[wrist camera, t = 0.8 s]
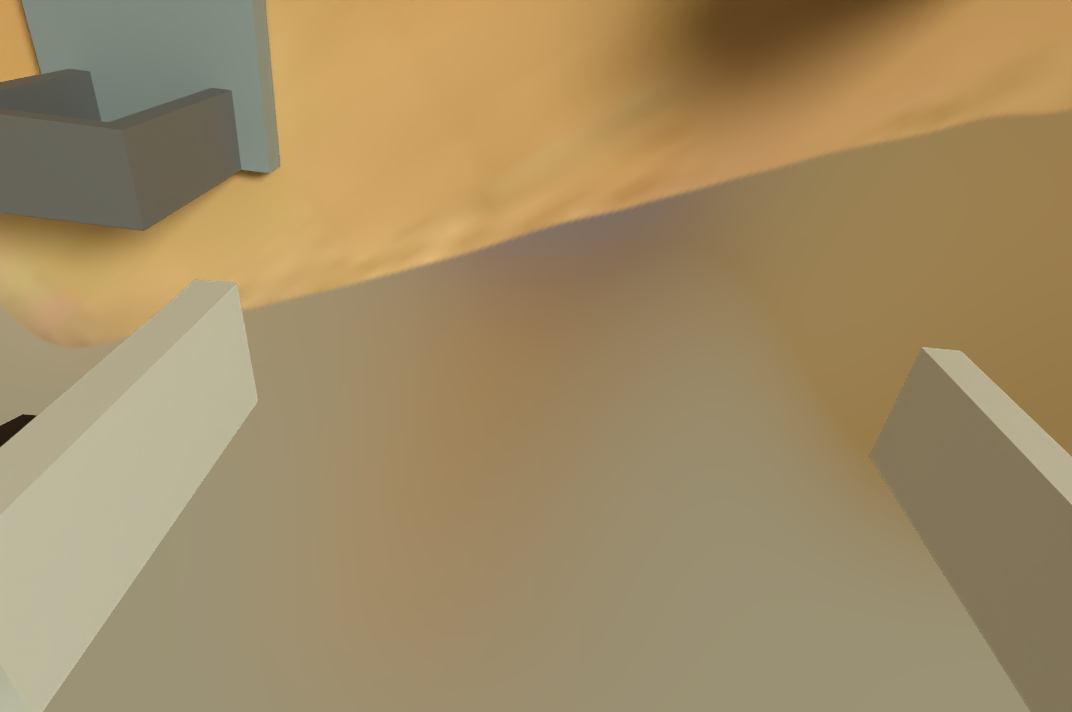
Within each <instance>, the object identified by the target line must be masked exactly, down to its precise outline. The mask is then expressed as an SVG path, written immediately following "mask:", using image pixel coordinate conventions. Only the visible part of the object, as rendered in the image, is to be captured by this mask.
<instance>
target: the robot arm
mask: <svg viewBox="0 0 1072 712" xmlns="http://www.w3.org/2000/svg"><path fill="white" fill-rule="evenodd" d="M257 402H258V397H257V392H256V386H255V381H254V375H253V370H252V364H251V358H250V353H249V347H248V342H247V337H246V331H245V325H244V320H243V314H242V309H241V303H240V297H239V292H238V286H237V283H231V282H220V281H209V280H199V279H196V280H195V281H193V282H192V283H191V284H190V285H189V286H188V287H186V288H185V289H184V290H183V291H182V292H181V293H179V294H178V295H177V296H176V297H175V298H174V299H172V300H171V301H170V302H169V303H168V304H167V305H165V306H164V307H163V308H162V309H161V310H160V311H159V312H157V313H156V314H155V315H154V316H153V317H152V318H150V319H149V320H148V321H147V322H146V323H145V324H143V325H142V326H141V327H140V328H139V329H138V330H136V331H135V332H134V333H133V334H132V335H131V336H129V337H128V338H127V339H126V340H125V341H124V342H122V343H121V344H120V345H119V346H118V347H117V348H115V349H114V350H113V351H112V352H111V353H110V354H108V355H107V356H106V357H105V358H104V359H103V360H102V361H100V362H99V363H98V364H97V365H96V366H95V367H93V368H92V369H91V370H90V371H89V372H88V373H86V374H85V375H84V376H83V377H82V378H81V379H79V380H78V381H77V382H76V383H75V384H74V385H72V386H71V387H70V388H69V389H68V390H67V391H65V393H63V394H62V395H61V396H60V397H59V398H57V399H56V400H55V401H54V402H53V403H51V404H50V405H49V406H48V407H47V408H46V409H45V410H43V411H42V412H41V413H40V414H39V415H37V416H35V415H24V414H23V415H21V416H19V417H17V418H15V419H13V420H11V421H9V422H7V423H5V424H3V425H1V426H0V712H43V710H44V709H45V707H46V706H47V705H48V703H49V702H50V700H51V699H52V697H53V696H54V694H55V693H56V692H57V690H58V689H59V687H60V686H61V684H62V683H63V681H64V680H65V679H66V677H67V676H68V674H69V673H70V671H71V670H72V669H73V667H74V666H75V664H76V663H77V661H78V660H79V659H80V657H81V656H82V654H83V653H84V651H85V650H86V648H87V647H88V646H89V644H90V643H91V641H92V640H93V638H94V637H95V635H96V634H97V633H98V631H99V630H100V628H101V627H102V625H103V624H104V622H105V621H106V620H107V618H108V617H109V615H110V614H111V612H112V611H113V610H114V608H115V607H116V605H117V603H118V602H119V601H120V599H121V598H122V596H123V595H124V594H125V592H126V591H127V589H128V588H129V586H130V585H131V583H132V582H133V581H134V579H135V578H136V576H137V575H138V574H139V572H140V570H141V569H142V568H143V566H144V565H145V563H146V562H147V561H148V559H149V558H150V556H151V555H152V553H153V552H154V550H155V549H156V547H157V546H158V545H159V543H160V542H161V540H162V539H163V537H164V536H165V534H166V533H167V532H168V530H169V529H170V527H171V526H172V525H173V523H174V522H175V520H176V519H177V517H178V516H179V514H180V513H181V512H182V510H183V509H184V507H185V506H186V504H187V503H188V501H189V500H190V498H191V497H192V496H193V494H194V493H195V491H196V490H197V489H198V487H199V485H200V484H201V483H202V481H203V480H204V478H205V477H206V475H207V474H208V473H209V471H210V470H211V468H212V467H213V465H214V464H215V463H216V461H217V460H218V458H219V457H220V455H221V454H222V452H223V451H224V450H225V448H226V447H227V445H228V444H229V442H230V441H231V439H232V438H233V437H234V435H235V434H236V432H237V431H238V429H239V428H240V427H241V425H242V424H243V422H244V421H245V419H246V418H247V416H248V415H249V413H250V412H251V411H252V409H253V408H254V406H255V405H256V404H257ZM869 457H870V458H871V460H872V461H873V463H874V465H875V466H876V468H877V469H878V471H879V472H880V474H881V476H882V477H883V479H884V481H885V482H886V484H887V485H888V487H889V489H890V490H891V492H892V493H893V495H894V496H895V498H896V500H897V501H898V503H899V504H900V506H901V507H902V509H903V511H904V512H905V514H906V515H907V517H908V518H909V520H910V522H911V523H912V525H913V526H914V528H915V530H916V531H917V533H918V534H919V536H920V538H921V539H922V541H923V542H924V544H925V545H926V547H927V548H928V550H929V552H930V553H931V555H932V557H933V558H934V559H935V561H936V563H937V564H938V566H939V567H940V569H941V571H942V572H943V574H944V576H945V577H946V578H947V580H948V582H949V583H950V585H951V586H952V588H953V590H954V591H955V593H956V595H957V596H958V598H959V599H960V601H961V602H962V604H963V605H964V607H965V609H966V610H967V612H968V614H969V615H970V617H971V618H972V620H973V621H974V623H975V625H976V626H977V628H978V629H979V631H980V632H981V634H982V636H983V637H984V639H985V640H986V642H987V644H988V645H989V647H990V648H991V650H992V651H993V653H994V655H995V656H996V658H997V659H998V661H999V663H1000V664H1001V666H1002V667H1003V669H1004V670H1005V672H1006V674H1007V675H1008V677H1009V678H1010V680H1011V682H1012V683H1013V685H1014V686H1015V688H1016V689H1017V691H1018V693H1019V694H1020V696H1021V697H1022V699H1023V701H1024V702H1025V704H1026V705H1027V707H1028V708H1029V710H1030V712H1072V457H1071V456H1070V455H1069V454H1068V453H1067V452H1066V451H1065V450H1064V449H1063V448H1061V446H1060V445H1059V444H1058V443H1057V442H1055V441H1054V440H1053V439H1052V438H1051V437H1050V436H1049V435H1048V434H1047V433H1046V432H1045V431H1044V430H1043V429H1042V428H1041V427H1040V426H1039V425H1038V424H1037V423H1036V422H1035V421H1034V420H1032V419H1031V418H1030V417H1029V416H1028V415H1027V414H1026V413H1025V412H1024V411H1023V410H1022V409H1021V408H1020V407H1019V406H1018V405H1017V404H1016V403H1015V402H1014V401H1013V400H1011V398H1009V397H1008V396H1007V395H1006V394H1005V393H1004V392H1003V391H1002V390H1001V389H1000V388H999V387H998V386H997V385H996V384H995V383H994V382H993V381H992V380H991V379H990V378H989V377H988V376H987V375H985V374H984V373H983V372H982V371H981V370H980V369H979V368H978V367H977V366H976V365H975V364H974V363H973V362H972V361H971V360H970V359H969V358H968V357H967V356H966V355H964V353H962V352H961V351H957V350H946V349H936V348H925V347H922V348H921V350H920V352H919V354H918V356H917V358H916V360H915V362H914V364H913V366H912V368H911V370H910V373H909V375H908V377H907V379H906V381H905V383H904V385H903V387H902V389H901V391H900V393H899V395H898V397H897V399H896V401H895V404H894V406H893V408H892V410H891V412H890V414H889V416H888V418H887V420H886V422H885V424H884V426H883V428H882V430H881V432H880V434H879V437H878V439H877V441H876V443H875V445H874V447H873V449H872V451H871V453H870V455H869Z"/></svg>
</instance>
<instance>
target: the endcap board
mask: <svg viewBox="0 0 1072 712" xmlns="http://www.w3.org/2000/svg"><path fill="white" fill-rule="evenodd" d="M21 1H22V4H23V8H24V12H25V15H26V19H27V23H28V27H29V30H30V34H31V38H32V41H33V45H34V49H35V53H36V56H37V60H38V64H39V67H40V71H41V74H40V75H35V76H30V77H25V78H20V79H14V80H9V81H4V82H0V213H5V214H13V215H21V216H29V217H37V218H45V219H53V220H61V221H69V222H77V223H85V224H93V225H102V226H110V227H118V228H126V229H134V230H142V231H144V230H146V229H148V228H149V227H151V226H152V225H154V224H156V223H157V222H159V221H160V220H162V219H164V218H165V217H167V216H168V215H170V214H172V213H173V212H175V211H176V210H178V209H179V208H181V207H183V206H184V205H186V204H187V203H189V202H191V201H192V200H194V199H195V198H197V197H199V196H200V195H202V194H203V193H205V192H207V191H208V190H210V189H211V188H213V187H215V186H216V185H218V184H219V183H221V182H223V181H224V180H226V179H227V178H229V177H231V176H232V175H234V174H235V173H237V172H239V171H240V170H248V171H255V172H263V173H271V172H272V171H274V170H275V169H277V168H278V167H279V166H280V158H279V147H278V136H277V125H276V114H275V103H274V93H273V82H272V71H271V60H270V49H269V38H268V27H267V16H266V5H265V0H21Z"/></svg>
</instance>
